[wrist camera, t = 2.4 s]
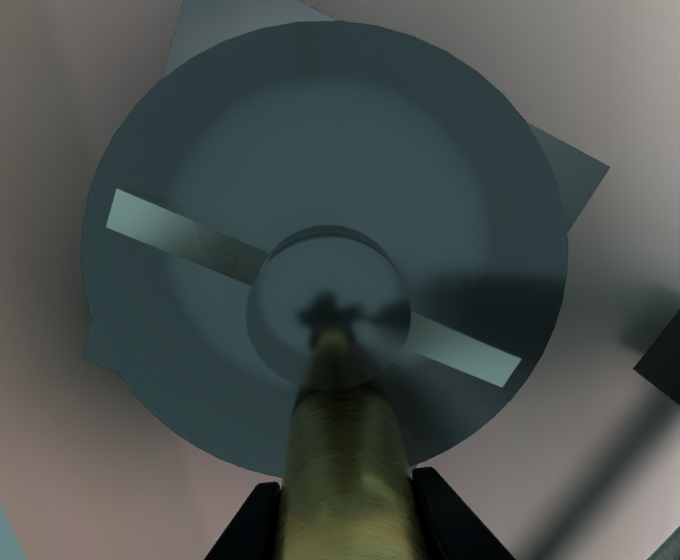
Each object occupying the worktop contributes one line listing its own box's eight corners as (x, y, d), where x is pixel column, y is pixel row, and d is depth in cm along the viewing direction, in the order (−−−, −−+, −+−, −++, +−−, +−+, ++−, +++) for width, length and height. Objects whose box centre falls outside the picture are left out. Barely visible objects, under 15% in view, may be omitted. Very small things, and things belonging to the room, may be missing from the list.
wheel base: (585, 163, 11) (610, 167, 10) (405, 450, 14) (411, 474, 13) (212, -34, 9) (199, -54, 8) (100, 341, 12) (80, 359, 11)
